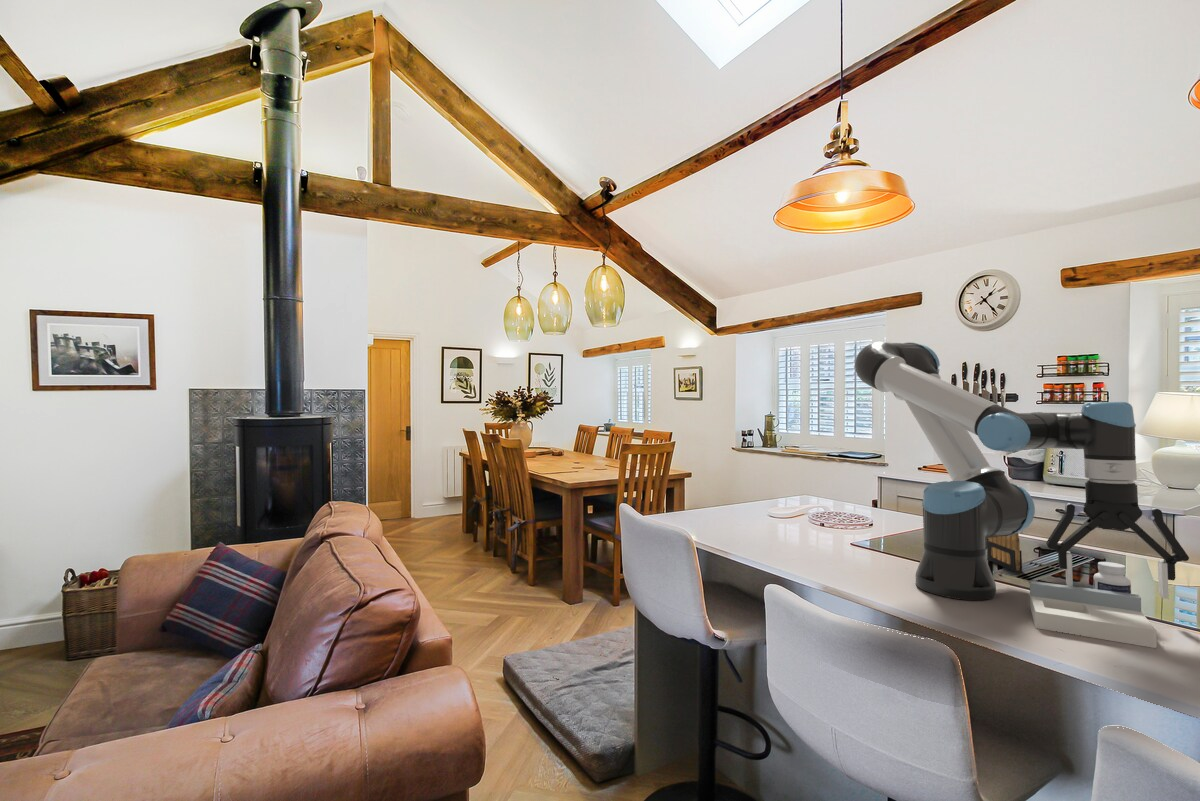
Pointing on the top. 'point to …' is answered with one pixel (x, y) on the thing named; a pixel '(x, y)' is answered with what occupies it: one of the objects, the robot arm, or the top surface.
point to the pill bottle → (1112, 578)
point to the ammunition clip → (1005, 552)
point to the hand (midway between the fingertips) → (1115, 591)
